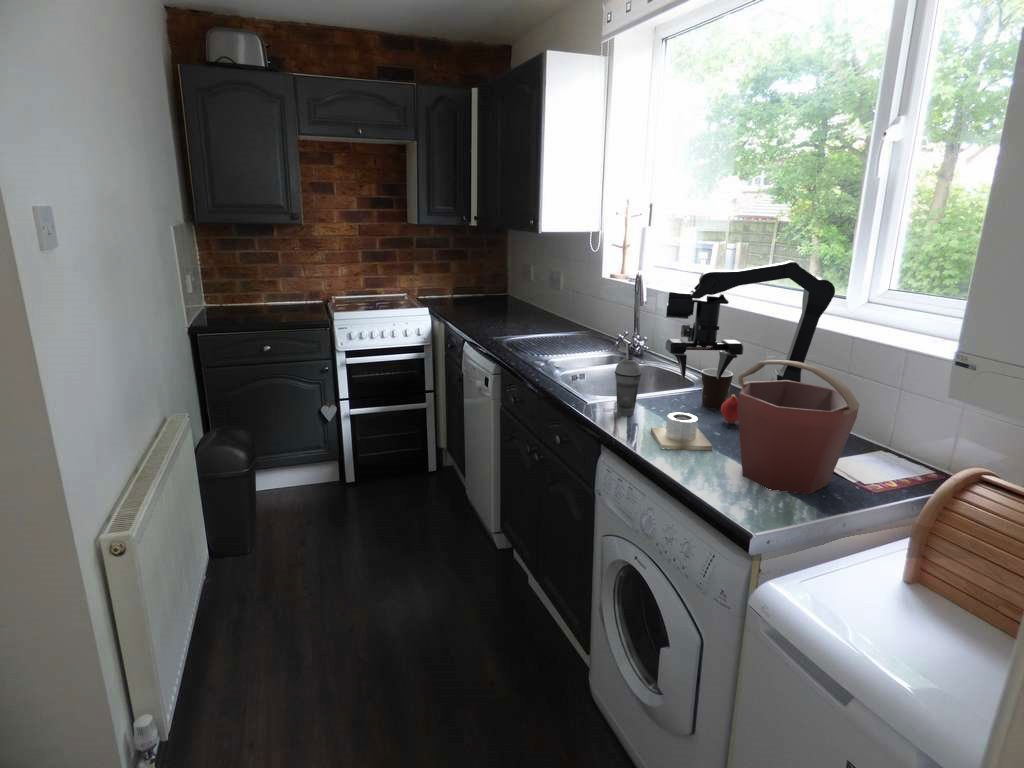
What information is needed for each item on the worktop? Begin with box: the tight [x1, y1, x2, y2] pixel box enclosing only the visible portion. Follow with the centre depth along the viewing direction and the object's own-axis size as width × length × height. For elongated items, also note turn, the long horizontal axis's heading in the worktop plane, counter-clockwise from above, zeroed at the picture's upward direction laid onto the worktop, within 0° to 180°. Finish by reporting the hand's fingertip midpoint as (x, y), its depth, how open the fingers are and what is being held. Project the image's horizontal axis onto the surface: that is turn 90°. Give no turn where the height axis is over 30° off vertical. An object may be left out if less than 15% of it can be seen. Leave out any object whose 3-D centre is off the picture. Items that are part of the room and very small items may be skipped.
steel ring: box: [665, 412, 699, 442], centre depth 153 cm, size 7×7×5 cm
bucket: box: [737, 359, 860, 495], centre depth 131 cm, size 24×22×25 cm
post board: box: [650, 417, 713, 451], centre depth 153 cm, size 12×12×6 cm
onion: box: [720, 394, 738, 425], centre depth 165 cm, size 6×6×8 cm
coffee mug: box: [701, 368, 734, 410], centre depth 180 cm, size 12×9×10 cm
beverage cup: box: [614, 341, 642, 417], centre depth 170 cm, size 7×7×20 cm
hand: (700, 378), depth 164 cm, fingers open, 9 cm apart
